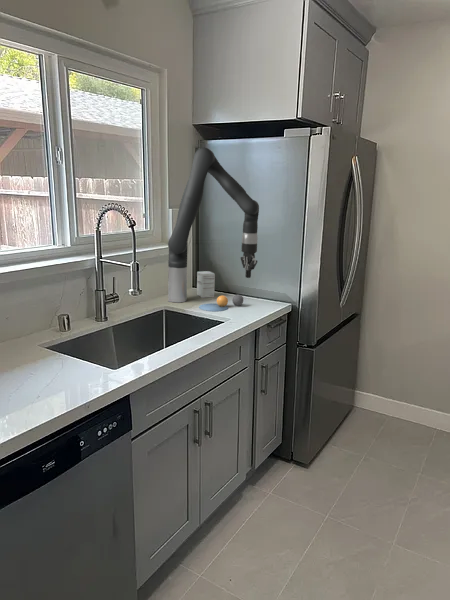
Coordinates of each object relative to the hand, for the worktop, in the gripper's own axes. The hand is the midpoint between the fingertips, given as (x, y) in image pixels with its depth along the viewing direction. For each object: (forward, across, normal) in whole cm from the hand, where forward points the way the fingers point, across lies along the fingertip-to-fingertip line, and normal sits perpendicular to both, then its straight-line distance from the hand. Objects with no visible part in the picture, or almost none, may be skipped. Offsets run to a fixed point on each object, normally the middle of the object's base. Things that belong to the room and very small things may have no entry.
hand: (248, 277), depth 226 cm
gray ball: (+11, -1, +6) cm, 12 cm away
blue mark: (+14, 0, +18) cm, 23 cm away
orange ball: (+11, 0, +14) cm, 18 cm away
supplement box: (+14, +23, +12) cm, 29 cm away
